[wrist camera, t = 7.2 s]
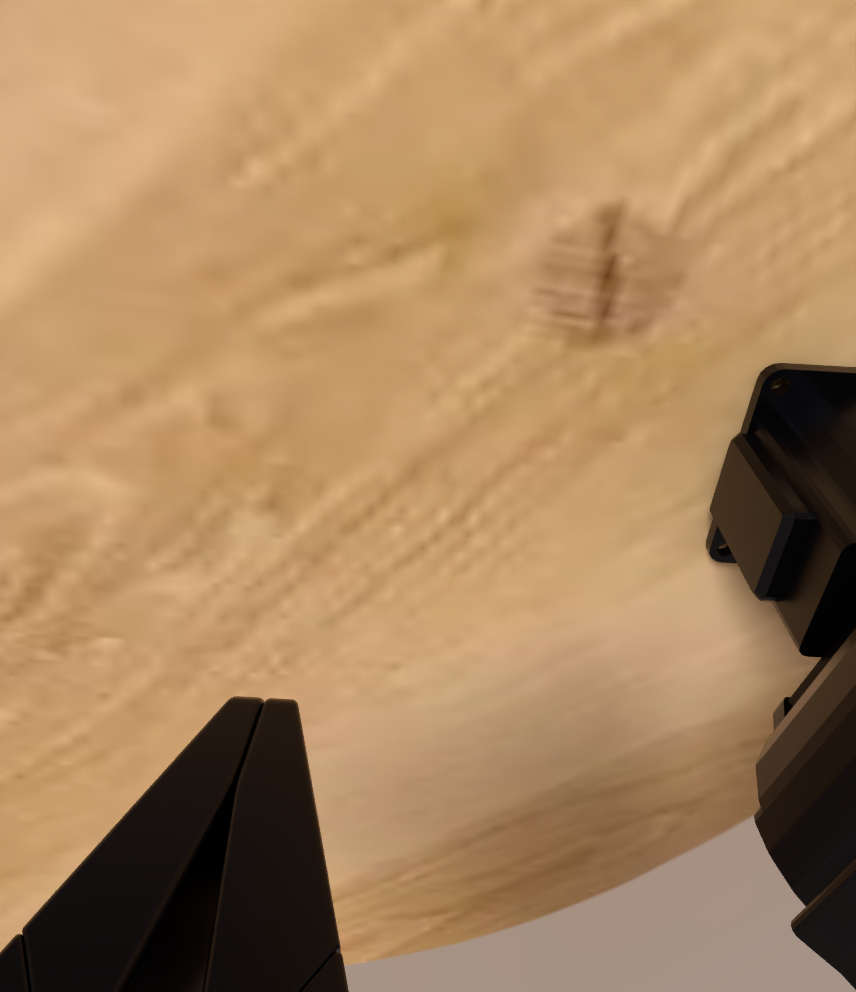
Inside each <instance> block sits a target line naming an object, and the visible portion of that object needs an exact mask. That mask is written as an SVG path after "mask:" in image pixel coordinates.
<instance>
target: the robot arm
mask: <svg viewBox="0 0 856 992" xmlns="http://www.w3.org/2000/svg"><path fill="white" fill-rule="evenodd" d="M783 377H784V378H785V381H784V383H783V384H782V385H781V386H780V387H778V388H774V389H771V385H772V384H773V382H774V381H775V380H777V379H778V378H783ZM710 512H711V514H712V516H713V521H712V524H711V527H710V530H709V533H708V537H707V540H706V547H707V549H708V551H709V554H710V556H711V558H712V559H714V560H715V561H718V562H726V563H737V564H738V566H739V567H740V569H741V571H742V573H743V575H744V577H745V579H746V581H747V583H748V585H749V587H750V589H751V590H752V592H753V593H754V594H755V596H756V597H757V598H758V599H759V600H760V601H772V603H773V604H774V606H775V608H776V610H777V612H778V614H779V615H780V617H781V619H782V621H783V623H784V624H785V626H786V628H787V630H788V632H789V634H790V635H791V637H792V639H793V641H794V643H795V645H796V646H797V648H798V650H799V652H800V653H801V654H802V655H804V656H808V657H822V658H821V659H820V661H819V662H818V663H817V664H816V666H815V667H814V668H813V669H812V671H811V672H810V673H809V675H808V676H807V677H806V678H805V680H804V681H803V682H802V683H801V685H800V686H799V687H798V689H797V690H796V691H795V692H794V694H793V695H792V696H791V697H786V698H784V699H783V701H782V702H781V703H780V704H779V706H778V707H777V708H776V710H775V711H774V713H773V720H774V732H773V733H772V734H771V735H770V737H769V738H768V739H767V740H766V742H765V745H764V747H763V749H762V752H761V754H760V757H759V759H758V761H757V764H756V773H757V786H758V798H759V802H760V806H761V807H760V808H759V809H758V810H757V811H756V813H755V815H754V818H755V823H756V825H757V828H758V830H759V832H760V835H761V837H762V839H763V841H764V844H765V846H766V848H767V850H768V852H769V854H770V856H771V858H772V859H773V861H774V863H775V864H776V866H777V867H778V869H779V870H780V872H781V873H782V875H783V876H784V878H785V880H786V881H787V883H788V884H789V886H790V887H791V889H792V890H793V892H794V893H795V894H796V895H797V897H798V898H799V899H800V900H801V901H802V902H803V904H804V905H805V906H806V908H805V909H803V910H802V911H801V912H800V913H799V914H798V915H797V916H796V917H795V918H794V919H793V920H792V922H791V927H792V930H793V932H794V933H795V935H796V936H797V937H798V938H799V939H800V940H801V941H803V942H804V943H805V944H806V945H807V946H809V947H810V948H811V949H812V950H813V951H815V952H816V953H817V954H818V955H819V956H820V957H822V958H823V959H824V960H826V962H828V963H829V964H830V965H831V966H832V967H834V968H835V969H836V970H837V971H838V972H840V973H841V974H842V975H843V976H844V977H845V978H846V980H847V981H848V982H849V983H850V984H851V985H852V986H853V987H854V988H855V989H856V367H840V366H822V365H805V364H788V363H778V364H772V365H770V366H768V367H766V368H765V369H764V370H763V371H762V372H761V373H760V375H759V377H758V378H757V381H756V384H755V387H754V391H753V394H752V397H751V400H750V403H749V406H748V410H747V413H746V416H745V419H744V422H743V425H742V429H741V432H740V433H739V434H737V435H736V436H735V437H734V438H733V439H732V440H731V442H730V445H729V448H728V451H727V455H726V458H725V461H724V464H723V468H722V471H721V474H720V477H719V481H718V484H717V487H716V490H715V493H714V497H713V500H712V503H711V506H710ZM724 543H727V545H728V546H726V547H725V548H719V546H720V545H722V544H724ZM22 933H23V935H21V934H18V935H16V936H15V937H14V938H13V939H12V940H11V941H10V942H9V943H8V945H7V946H6V947H5V948H4V949H3V950H2V951H1V952H0V992H349V991H348V985H347V980H346V974H345V968H344V962H343V956H342V954H341V953H340V941H339V936H338V930H337V924H336V918H335V913H334V907H333V901H332V896H331V890H330V884H329V878H328V873H327V867H326V861H325V856H324V850H323V844H322V838H321V833H320V827H319V821H318V815H317V810H316V804H315V798H314V793H313V787H312V781H311V775H310V770H309V764H308V758H307V753H306V747H305V741H304V735H303V730H302V724H301V718H300V713H299V707H298V703H297V702H296V701H295V700H290V699H274V698H270V699H267V700H266V701H265V702H264V700H263V699H261V698H257V697H240V696H237V697H233V698H230V699H229V700H228V701H227V702H226V703H225V704H224V705H223V706H222V708H221V709H220V710H219V711H218V712H217V713H216V714H215V715H214V716H213V718H212V719H211V720H210V721H209V722H208V723H207V724H206V725H205V726H204V728H203V729H202V730H201V731H200V732H199V733H198V734H197V735H196V736H195V738H194V739H193V740H192V741H191V742H190V743H189V744H188V745H187V746H186V747H185V749H184V750H183V751H182V752H181V753H180V754H179V755H178V756H177V757H176V759H175V760H174V761H173V762H172V763H171V764H170V765H169V766H168V767H167V769H166V770H165V771H164V772H163V773H162V774H161V775H160V776H159V777H158V779H157V780H156V781H155V782H154V783H153V784H152V785H151V786H150V787H149V789H148V790H147V791H146V792H145V793H144V794H143V795H142V796H141V797H140V799H139V800H138V801H137V802H136V803H135V804H134V805H133V806H132V807H131V809H130V810H129V811H128V812H127V813H126V814H125V815H124V816H123V817H122V819H121V820H120V821H119V822H118V823H117V824H116V825H115V826H114V827H113V829H112V830H111V831H110V832H109V833H108V834H107V835H106V836H105V837H104V839H103V840H102V841H101V842H100V843H99V844H98V845H97V846H96V847H95V848H94V850H93V851H92V852H91V853H90V854H89V855H88V856H87V857H86V858H85V860H84V861H83V862H82V863H81V864H80V865H79V866H78V867H77V868H76V870H75V871H74V872H73V873H72V874H71V875H70V876H69V877H68V878H67V880H66V881H65V882H64V883H63V884H62V885H61V886H60V887H59V888H58V890H57V891H56V892H55V893H54V894H53V895H52V896H51V897H50V898H49V900H48V901H47V902H46V903H45V904H44V905H43V906H42V907H41V908H40V910H39V911H38V912H37V913H36V914H35V915H34V916H33V917H32V918H31V920H30V921H29V922H28V923H27V924H26V925H25V926H24V927H23V930H22Z"/></svg>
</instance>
